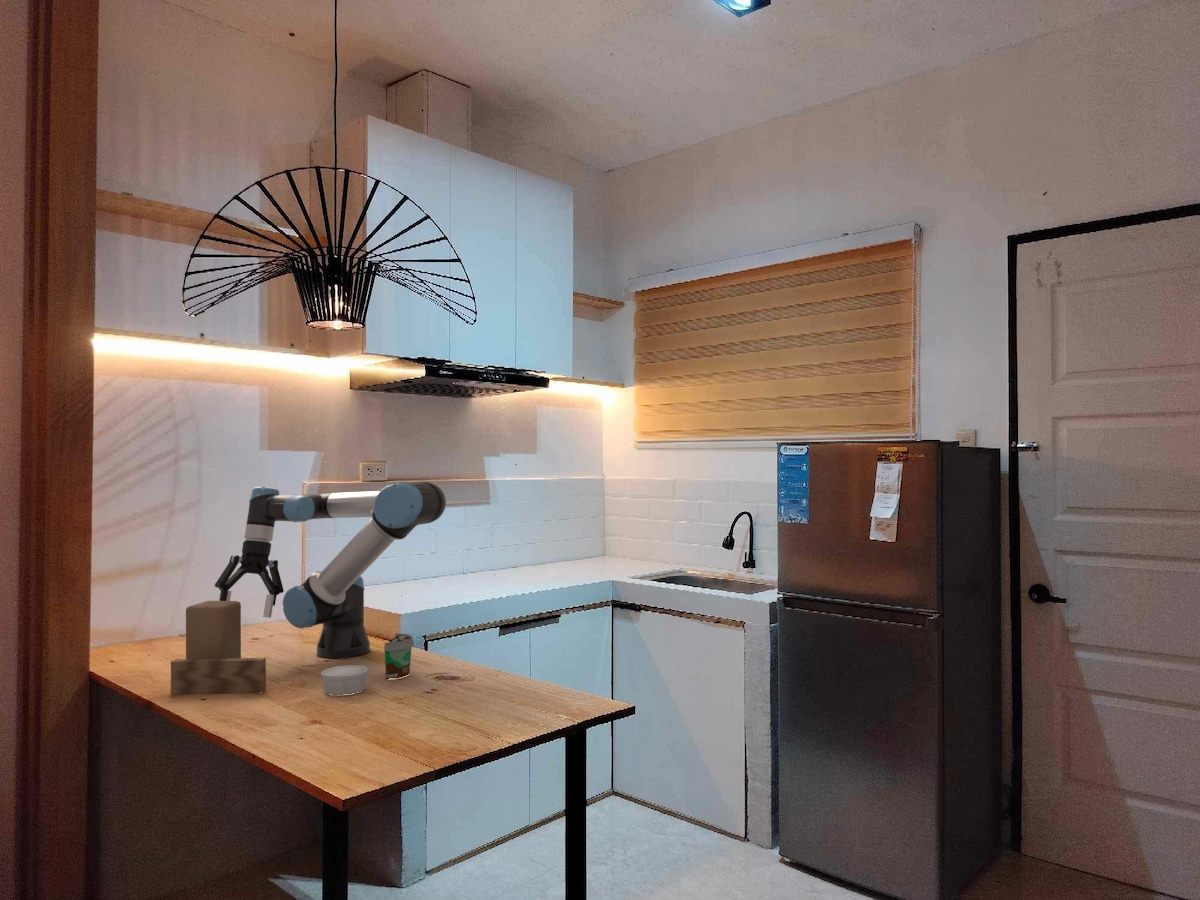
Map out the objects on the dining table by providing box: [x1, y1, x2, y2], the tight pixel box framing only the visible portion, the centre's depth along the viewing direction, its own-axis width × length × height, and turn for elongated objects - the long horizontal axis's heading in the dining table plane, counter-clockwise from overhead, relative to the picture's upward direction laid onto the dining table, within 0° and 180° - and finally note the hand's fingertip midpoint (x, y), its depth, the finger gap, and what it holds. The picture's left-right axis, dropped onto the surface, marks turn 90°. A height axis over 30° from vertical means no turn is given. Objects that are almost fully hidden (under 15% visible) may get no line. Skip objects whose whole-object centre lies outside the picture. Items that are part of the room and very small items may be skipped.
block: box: [185, 600, 242, 659], centre depth 214 cm, size 10×10×20 cm
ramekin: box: [320, 664, 370, 695], centre depth 203 cm, size 11×11×5 cm
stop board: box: [170, 657, 267, 695], centre depth 203 cm, size 22×2×8 cm, turn 92°
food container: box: [383, 633, 415, 680], centre depth 218 cm, size 12×6×10 cm, turn 0°
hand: (245, 616), depth 233 cm, fingers open, 13 cm apart
